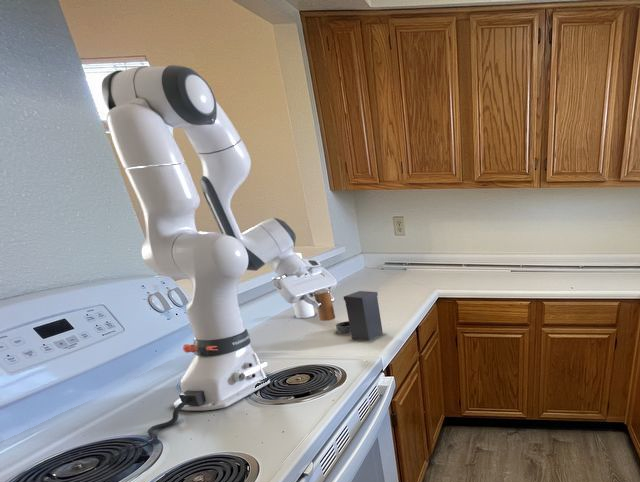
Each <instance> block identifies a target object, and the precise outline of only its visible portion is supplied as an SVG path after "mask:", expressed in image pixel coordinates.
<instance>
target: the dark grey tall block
mask: <svg viewBox="0 0 640 482" xmlns="http://www.w3.org/2000/svg"><path fill="white" fill-rule="evenodd" d="M378 295H379V294H378V291H368V290H367V291H365V290H358V291H356V292H352V293H350V294H347V295H343V301H344V302H345V308H346V313H347V319H348V321H349V325H350V330H351V333H350V335H351V339H352V340H358V341H367V342H370V341H372V340H374V339H375V338H377V337H379V336H381V335H383V334H384V333H383V332H384V331H383V325H382V319H381V313H380V306H379V300H378V299H379V298H378Z"/></svg>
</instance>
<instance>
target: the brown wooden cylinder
mask: <svg viewBox="0 0 640 482" xmlns="http://www.w3.org/2000/svg"><path fill="white" fill-rule="evenodd" d="M330 292H331V294H330ZM313 294H314V300H316V301H317V300H318V301H319V302H320V303H321V304H322V305H321V307H319V308H316V309H317V310H316V311H317V315H318V319H319V321H321V322H327V321H332V320H335V319H336V314H335V309H334V302H333V303H332V299H331V295H332V291H331V290H328V289H324V290H319V291H316V292H313Z"/></svg>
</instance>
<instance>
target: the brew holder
mask: <svg viewBox="0 0 640 482" xmlns="http://www.w3.org/2000/svg"><path fill="white" fill-rule="evenodd" d="M335 331H336V333H337V334H339V335H349V334H351V330H350V325H349V320H348V321H347V320H346V321H342V322H341V321H340V322H338V323H336V324H335Z"/></svg>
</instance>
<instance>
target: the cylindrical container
mask: <svg viewBox="0 0 640 482" xmlns="http://www.w3.org/2000/svg"><path fill="white" fill-rule="evenodd" d="M294 253H295V254H297V255H298V256H299V257H300V258H301V259H302V258H303V255H302V253H301V252H294ZM292 306H293V309H294V313H295V317H296V318H298V319H307V318H311V317H314V316H315V314H316V313H315V309H314V306H313V305H311V304H309V303H307V302H305V301H304V300H302V301H299V302H296V303H292Z"/></svg>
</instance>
